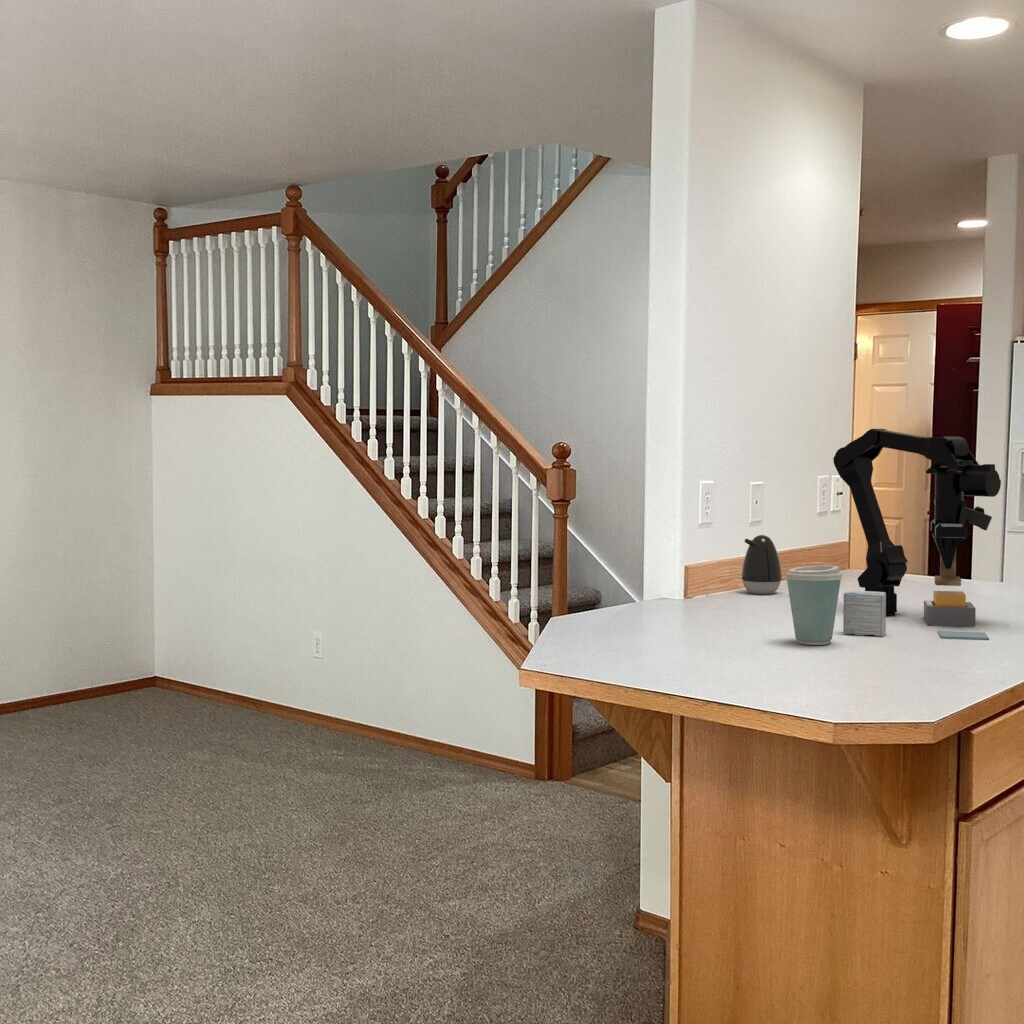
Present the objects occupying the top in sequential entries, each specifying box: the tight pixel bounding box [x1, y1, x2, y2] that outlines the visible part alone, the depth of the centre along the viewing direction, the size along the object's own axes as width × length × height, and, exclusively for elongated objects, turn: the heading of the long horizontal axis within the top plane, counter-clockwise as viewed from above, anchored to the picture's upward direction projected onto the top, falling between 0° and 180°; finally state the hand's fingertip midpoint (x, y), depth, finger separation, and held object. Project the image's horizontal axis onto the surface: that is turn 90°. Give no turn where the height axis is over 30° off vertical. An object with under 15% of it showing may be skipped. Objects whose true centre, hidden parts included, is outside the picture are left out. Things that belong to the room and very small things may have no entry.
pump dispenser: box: [741, 534, 783, 596], centre depth 302 cm, size 10×10×15 cm
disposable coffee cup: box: [785, 564, 843, 646], centre depth 228 cm, size 11×11×15 cm
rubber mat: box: [937, 630, 990, 641], centre depth 235 cm, size 9×7×1 cm
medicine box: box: [842, 590, 887, 637], centre depth 238 cm, size 8×4×9 cm, turn 65°
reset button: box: [932, 590, 967, 607], centre depth 252 cm, size 6×6×3 cm
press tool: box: [934, 550, 962, 587], centre depth 251 cm, size 5×5×8 cm
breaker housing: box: [923, 600, 977, 628], centre depth 252 cm, size 10×10×4 cm
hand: (947, 567), depth 251 cm, fingers closed on press tool, 3 cm apart
